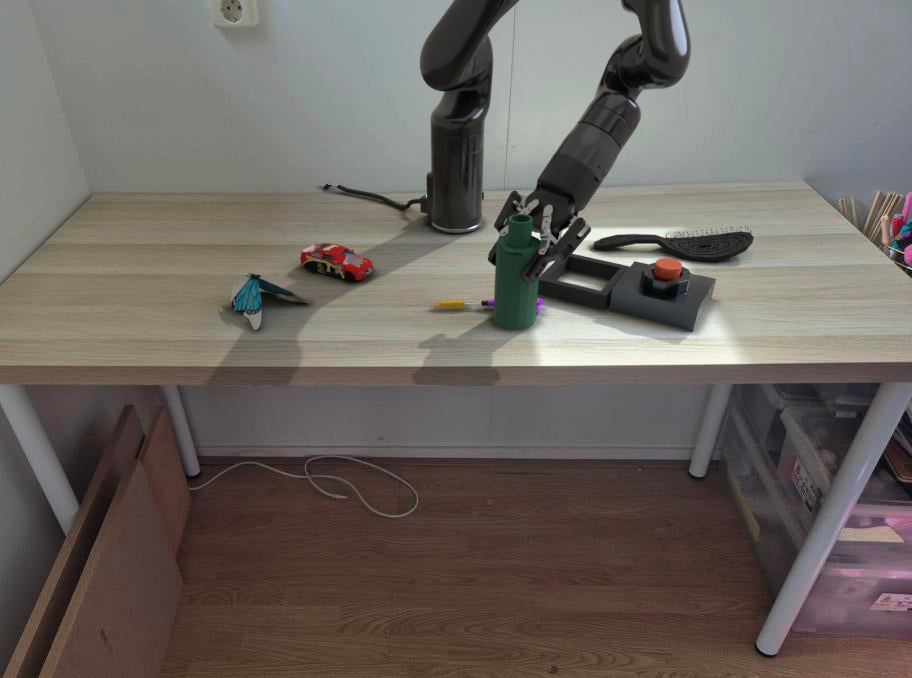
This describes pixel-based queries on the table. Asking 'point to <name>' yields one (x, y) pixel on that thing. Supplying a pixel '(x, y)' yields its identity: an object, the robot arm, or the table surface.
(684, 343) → the table surface
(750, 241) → the hairbrush
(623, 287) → the panel with orange knob
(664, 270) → the button
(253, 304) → the decorative butterfly
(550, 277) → the dock
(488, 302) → the purple yellow slender tool
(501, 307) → the vase
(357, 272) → the race car
